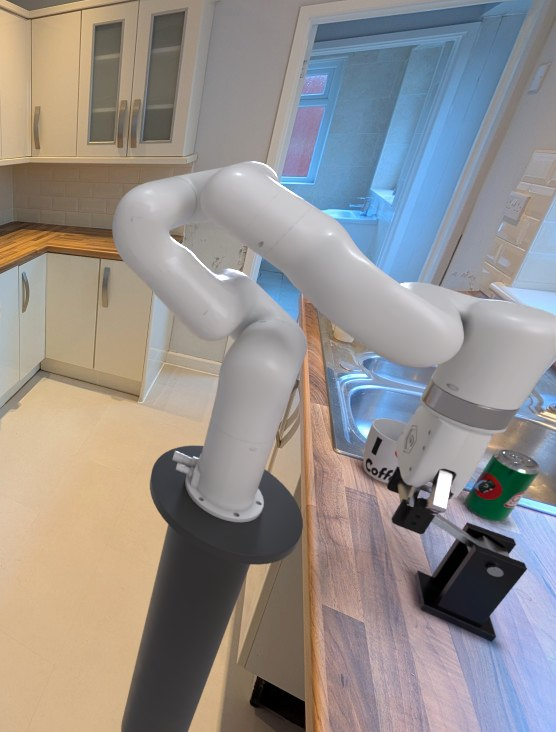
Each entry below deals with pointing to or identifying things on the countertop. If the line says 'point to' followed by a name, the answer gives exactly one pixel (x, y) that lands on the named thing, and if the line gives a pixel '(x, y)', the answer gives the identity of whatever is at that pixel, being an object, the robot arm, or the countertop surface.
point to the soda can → (501, 485)
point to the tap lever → (454, 527)
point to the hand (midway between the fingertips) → (403, 508)
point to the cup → (382, 448)
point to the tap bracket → (470, 583)
